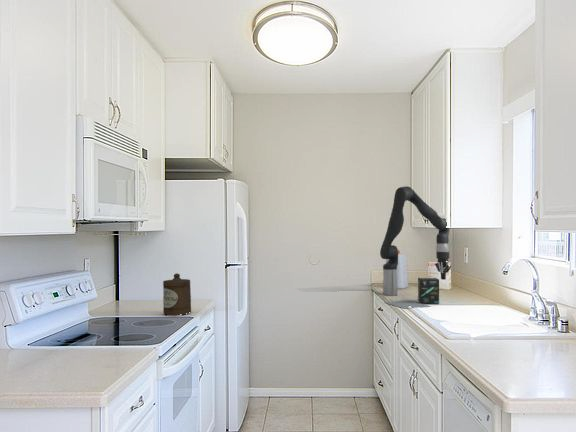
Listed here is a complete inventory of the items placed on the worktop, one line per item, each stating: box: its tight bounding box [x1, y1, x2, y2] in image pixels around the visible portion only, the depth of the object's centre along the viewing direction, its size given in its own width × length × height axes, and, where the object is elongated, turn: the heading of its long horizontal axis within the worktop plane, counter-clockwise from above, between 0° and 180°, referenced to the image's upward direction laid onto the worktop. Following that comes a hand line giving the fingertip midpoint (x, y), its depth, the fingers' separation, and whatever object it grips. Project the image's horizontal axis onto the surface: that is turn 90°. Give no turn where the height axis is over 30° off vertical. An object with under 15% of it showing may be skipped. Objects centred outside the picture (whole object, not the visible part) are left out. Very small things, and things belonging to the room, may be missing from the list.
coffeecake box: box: [427, 261, 452, 291], centre depth 339 cm, size 15×7×20 cm, turn 58°
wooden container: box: [162, 273, 192, 316], centre depth 255 cm, size 15×15×22 cm
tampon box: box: [417, 277, 440, 305], centre depth 278 cm, size 11×9×15 cm
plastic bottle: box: [385, 249, 409, 290], centre depth 347 cm, size 15×15×28 cm
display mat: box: [383, 300, 432, 310], centre depth 273 cm, size 22×18×1 cm
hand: (443, 279), depth 282 cm, fingers closed
